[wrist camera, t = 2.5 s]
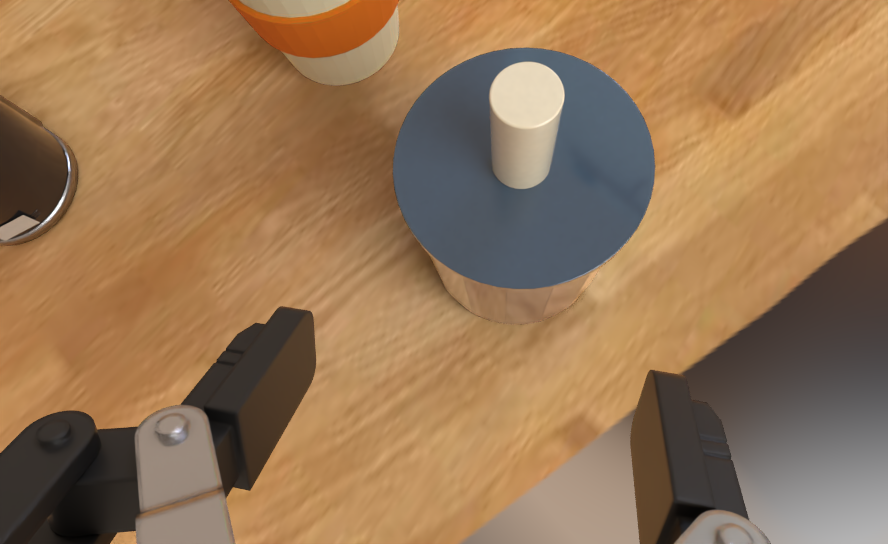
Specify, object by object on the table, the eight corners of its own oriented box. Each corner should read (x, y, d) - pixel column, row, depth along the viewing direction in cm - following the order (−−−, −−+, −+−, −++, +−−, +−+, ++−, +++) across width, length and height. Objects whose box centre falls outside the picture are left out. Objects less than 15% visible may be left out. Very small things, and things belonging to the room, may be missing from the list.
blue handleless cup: (406, 210, 42) (368, 124, 30) (548, 141, 42) (568, 27, 30) (477, 353, 39) (467, 322, 27) (629, 278, 39) (687, 214, 27)
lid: (358, 126, 31) (316, 39, 24) (570, 23, 31) (591, -92, 24) (463, 339, 27) (450, 311, 20) (699, 222, 28) (765, 155, 21)
